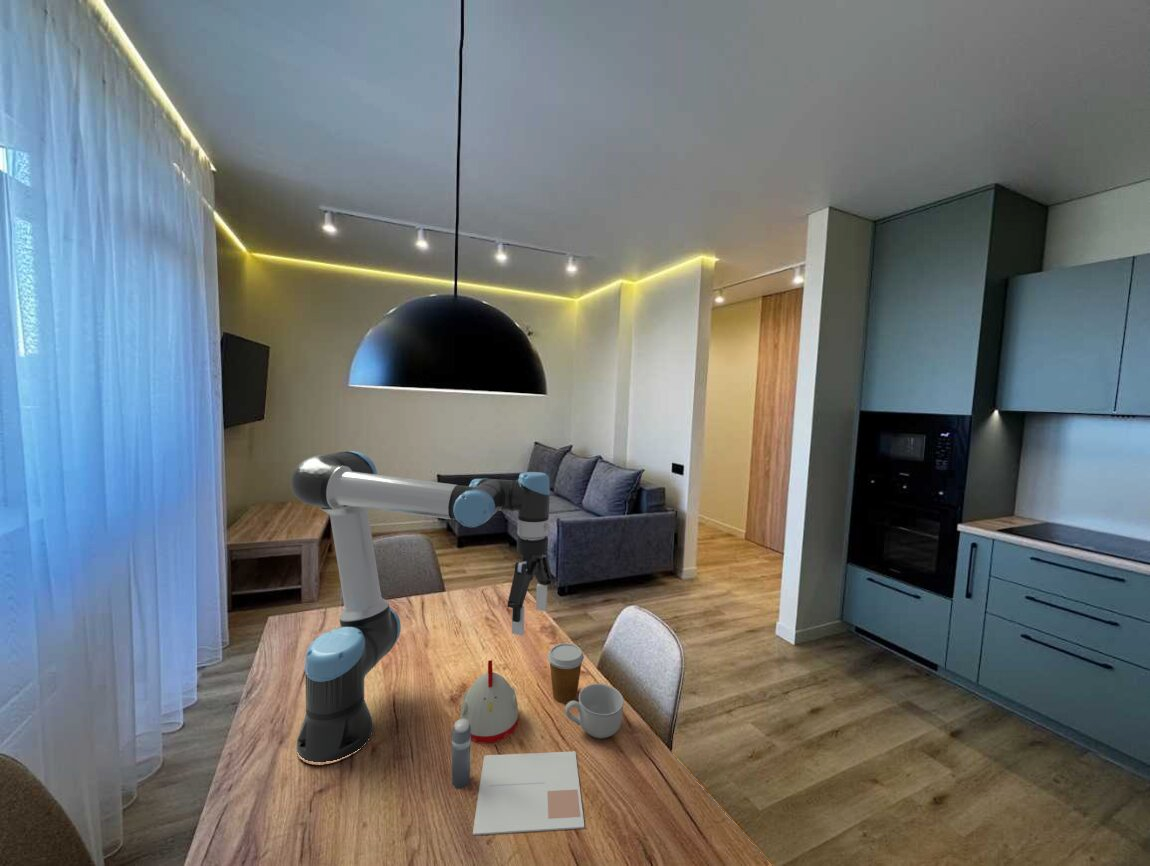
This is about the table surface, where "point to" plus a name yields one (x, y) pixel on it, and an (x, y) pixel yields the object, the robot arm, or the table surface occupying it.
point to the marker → (461, 753)
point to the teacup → (598, 710)
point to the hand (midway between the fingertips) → (530, 621)
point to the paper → (528, 793)
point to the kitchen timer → (490, 708)
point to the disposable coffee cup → (565, 671)
